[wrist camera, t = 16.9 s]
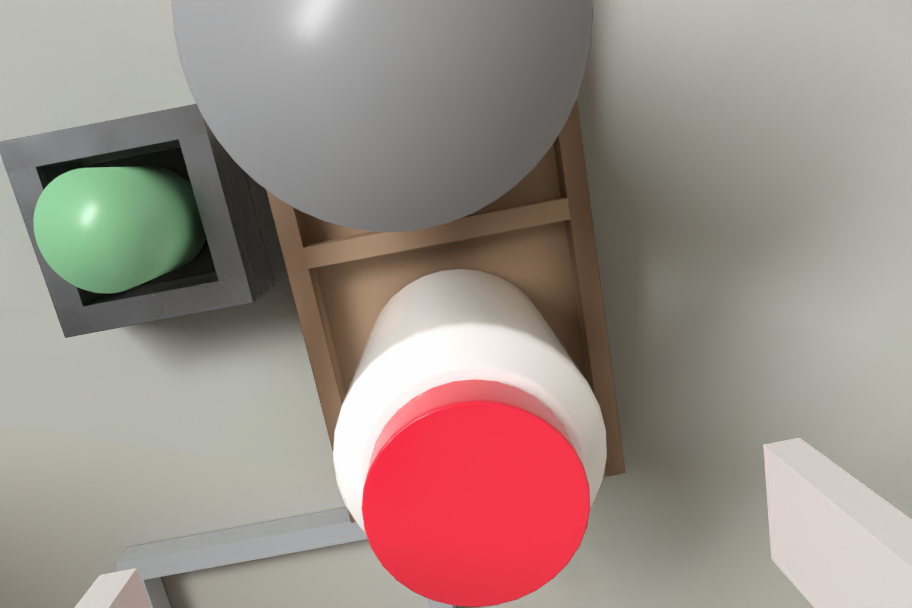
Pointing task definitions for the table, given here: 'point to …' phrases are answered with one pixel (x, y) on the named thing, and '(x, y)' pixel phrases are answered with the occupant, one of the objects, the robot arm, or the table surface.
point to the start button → (117, 226)
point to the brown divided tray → (459, 247)
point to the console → (216, 198)
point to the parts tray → (238, 548)
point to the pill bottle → (469, 442)
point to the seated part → (385, 98)
